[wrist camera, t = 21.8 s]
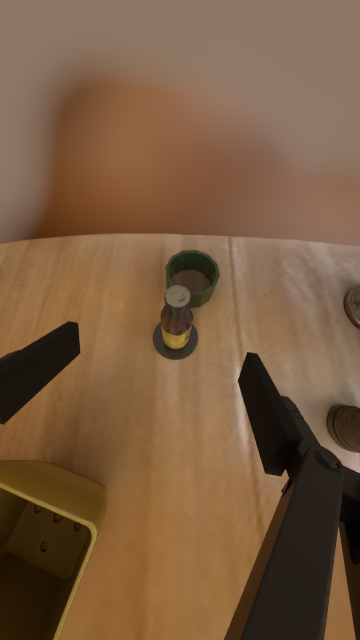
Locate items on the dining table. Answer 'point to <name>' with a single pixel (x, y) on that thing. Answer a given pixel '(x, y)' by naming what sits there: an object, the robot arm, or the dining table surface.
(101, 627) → the dining table surface
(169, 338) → the sauce bottle
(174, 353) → the coaster
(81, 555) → the flower pot
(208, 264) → the crock
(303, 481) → the robot arm
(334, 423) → the container
